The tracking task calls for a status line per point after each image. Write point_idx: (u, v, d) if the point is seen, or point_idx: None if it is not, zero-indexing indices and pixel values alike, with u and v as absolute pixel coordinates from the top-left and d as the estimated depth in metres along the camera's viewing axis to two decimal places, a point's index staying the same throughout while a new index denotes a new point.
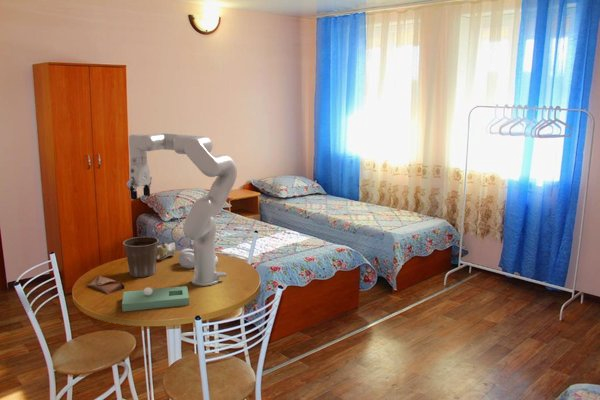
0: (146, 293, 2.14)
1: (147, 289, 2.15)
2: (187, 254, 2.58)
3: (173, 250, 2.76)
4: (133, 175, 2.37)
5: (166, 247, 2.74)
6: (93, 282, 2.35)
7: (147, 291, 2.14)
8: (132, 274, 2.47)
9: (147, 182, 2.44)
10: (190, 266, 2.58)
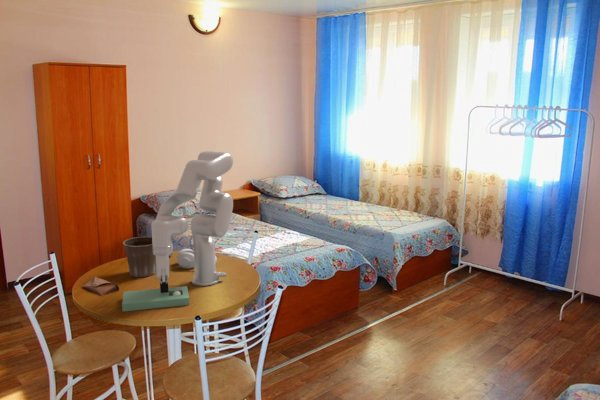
0: None
1: (178, 293, 2.19)
2: (186, 254, 2.58)
3: None
4: None
5: None
6: (88, 283, 2.33)
7: None
8: (132, 274, 2.47)
9: None
10: (189, 266, 2.58)
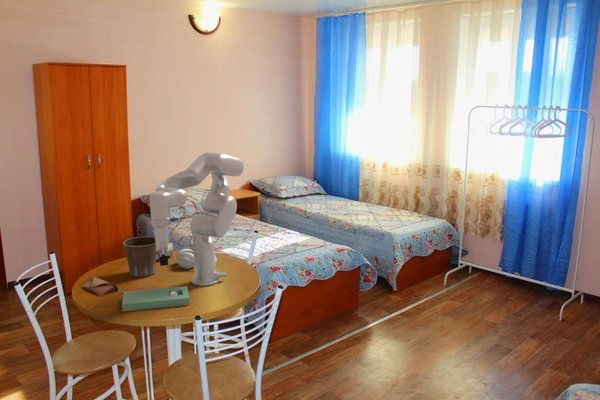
0: None
1: (172, 293, 2.18)
2: (185, 254, 2.58)
3: (171, 250, 2.76)
4: None
5: None
6: (87, 284, 2.33)
7: (172, 295, 2.18)
8: (132, 274, 2.47)
9: None
10: (189, 266, 2.58)
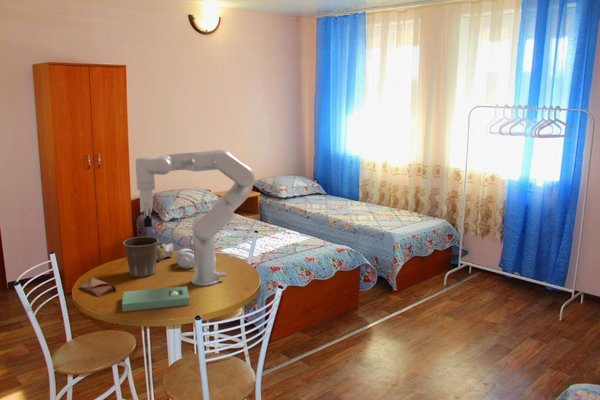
0: None
1: (174, 293, 2.19)
2: (185, 254, 2.58)
3: (171, 251, 2.75)
4: None
5: (164, 248, 2.73)
6: (85, 284, 2.32)
7: None
8: (132, 274, 2.47)
9: None
10: (188, 266, 2.58)
